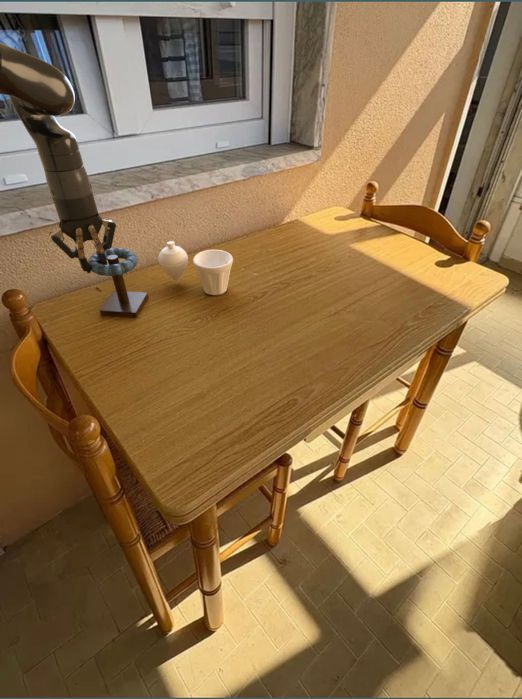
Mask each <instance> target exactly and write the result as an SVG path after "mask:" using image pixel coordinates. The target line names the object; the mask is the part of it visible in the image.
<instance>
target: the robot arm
mask: <svg viewBox="0 0 522 699" xmlns="http://www.w3.org/2000/svg"><path fill="white" fill-rule="evenodd" d="M0 95H3V96H8V98H9V100H10V102H11V105H12V106H13V109H14V110H15V112H16V114H17V116H18V117H19V119H20V121H21V123H22V124H23V126H24V128H25V129H26V132H27V133H28V135H29V136H30V137H31V140H32V141H33V142H34V144H35V146H36V149H37V153H38V156H39V159H40V162H41V165H42V168H43V171H44V175H45V181H46V184H47V187H48V189H49V190H48V191H49V193H50V196H51V198H52V201H53V202H52V203H53V204H54V207H55V210H56V213H57V216H58V219H59V224H58V227H59V228H58V229H56V230H55V231H50V232H48V236H49V238H50V239H51V241H52V242H53V243H54V244H55V245H56V246H57V247H58V248H59V249H60V250H62V251H63V252H64V253H65V255H66V256H68V257H69V259H71V260H73V259H78V262H79V265H80V268H81V269H82V270H83V272H86V273H87V274H91V273H92V271H91V270H90V267H89V264H88V258H87V257H86V255H85V254H86V253H85V244H84V243H85V242H87V241H91V242H92V245H93V246H94V249H95V253H96V254H97V258H98V261H99V263H100V264H104V265H108V260H106V257H105V251H106V250H107V249H110V248H113V242H114V237H115V232H116V228H117V224H116V223H115V222H114V221H113V219H111V218H108V219H105V218H102V217H101V215H100V214H99V211H98V207H97V204H96V200H95V196H94V193H93V187H92V183H91V182H90V178H89V175H88V172H87V170H86V167H85V165H84V161H83V157H82V153H81V151H80V147H79V143H78V140H77V138H76V136H75V134H74V133H73V132H71V130H68V129H66V128H64V127H63V126H61V125H60V123H59V122H58V121H57V118H56V117H62V116H65V115H67V114H69V113H70V112H71V111H72V109H73V107H74V105H75V101H76V100H75V99H76V97H75V91H74V88H73V85H72V83H71V82H70V80H69V79H68V77H67V76H66V74H64V73H63V72H62V71H61V70H60V69H59V68H57V67H55V66H54V65H53V64H51V63H49V62H47V61H45V60H43V59H42V58H41V59H40V58H38V57H36V56H34V55H31V54H29V53H27V52H24V51H21V50H20V49H16V48H13V47H11V46H9V45H6V44H4V43H2V42H1V41H0ZM102 228H103V229H104V231H103V232H104V233H103V238H102V242H101V239H100V237H99V233H100V231H101V229H102ZM64 234H65V235H66V236H67V237H69V238H70V239H71V240H72V242H73V245H74V246H73V247H74V249H71V248H70V247H69V245H68V244H67V243H65V237H64Z"/></svg>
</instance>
